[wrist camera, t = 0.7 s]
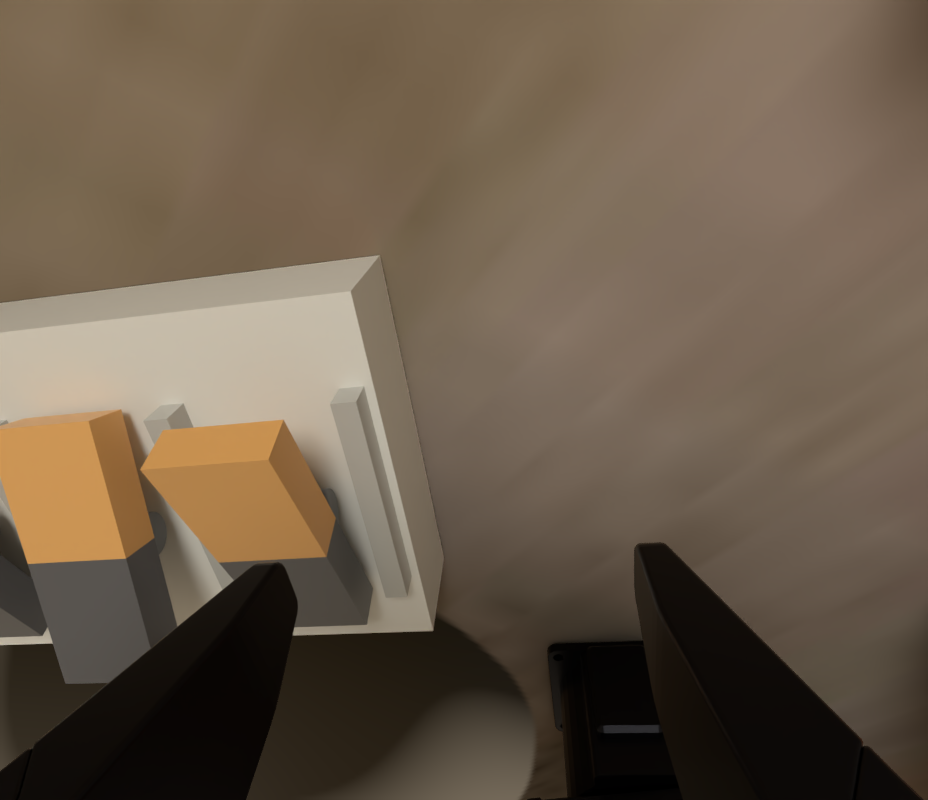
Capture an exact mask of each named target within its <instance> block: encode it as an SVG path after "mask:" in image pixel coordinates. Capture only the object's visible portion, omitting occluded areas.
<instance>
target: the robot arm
mask: <svg viewBox="0 0 928 800" xmlns="http://www.w3.org/2000/svg"><path fill="white" fill-rule="evenodd" d="M634 587H635V597H636V604H637V609H638V615H639V620H640V626H641V632H642V637H643V641H636V642H601V643H566V644H553V645H551V646H550V647H549V648H548V661H549V670H550V679H551V688H552V698H553V707H554V716H555V725H556V728H557V729H558V730H560V731H563V742H564V755H565V769H566V782H567V796H568V797H567V798H556V799H546V800H923V799H922V798H921V797H920V796H919V795H918V794H917V793H916V792H915V791H914V790H913V789H912V788H911V787H910V786H909V785H908V784H907V783H906V782H905V781H903V780H902V779H901V778H900V777H899V776H898V775H897V774H896V773H895V772H894V771H893V770H892V769H891V768H890V767H889V766H888V765H887V764H886V763H885V762H884V761H883V760H882V759H881V758H880V757H879V756H878V755H877V754H876V753H875V752H874V751H873V750H872V749H871V748H870V747H869V746H864V747H863V741H862V739H861V738H860V737H859V736H858V735H857V734H856V733H855V732H854V731H853V730H852V729H851V728H850V727H849V726H848V725H847V724H846V723H845V722H844V721H843V720H842V719H841V718H840V717H839V716H838V715H837V714H836V713H835V712H834V711H833V710H832V709H831V708H830V707H829V706H828V705H827V704H826V703H825V702H824V701H823V700H822V699H821V698H820V697H819V696H818V695H817V694H816V693H815V692H814V691H813V690H812V689H811V688H810V687H809V686H808V685H807V684H806V683H805V682H804V681H803V680H802V679H801V678H800V677H799V676H798V675H797V674H796V673H795V672H794V671H793V670H792V669H791V668H790V667H789V666H788V665H787V664H786V663H785V662H784V661H783V660H782V659H781V658H780V657H779V656H778V655H777V654H776V653H775V652H774V651H773V650H772V649H771V648H770V647H769V646H768V645H767V644H766V643H765V642H764V641H763V640H762V639H761V638H760V637H759V636H758V635H757V634H756V633H755V632H754V631H753V630H752V629H751V628H750V627H749V626H748V625H747V624H746V623H745V622H744V621H743V620H742V619H741V618H740V617H739V616H738V615H737V614H736V613H735V612H734V611H733V610H732V609H731V608H730V607H729V606H728V605H727V604H726V603H725V602H724V601H723V600H722V599H721V598H720V597H719V596H718V595H717V594H716V593H715V592H714V591H713V590H712V589H711V588H710V587H709V586H708V585H706V584H705V583H704V582H703V581H702V580H701V579H700V578H699V577H698V576H697V575H696V574H695V573H694V572H693V571H692V570H691V569H690V568H689V567H688V566H687V565H686V564H685V563H684V562H683V561H682V560H681V559H680V558H679V557H678V556H677V555H676V554H675V553H674V552H673V551H672V550H671V549H670V548H669V547H668V546H667V545H666V544H664V543H661V542H657V543H639V544H637V545H636V546H635V550H634ZM297 613H298V601H297V597H296V594H295V591H294V589H293V586H292V583H291V581H290V578H289V576H288V573H287V570H286V568H285V566H284V565H283V564H282V563H281V562H259V563H256V564H254V565H252V566H251V567H250V568H248V569H247V570H246V571H245V572H243V573H242V574H241V575H240V576H239V577H237V578H236V579H235V580H234V581H232V582H231V583H230V584H229V585H228V586H226V587H225V588H224V589H223V590H221V591H220V592H219V593H218V594H217V595H215V596H214V597H213V598H212V599H210V600H209V601H208V602H207V603H206V604H204V605H203V606H202V607H201V608H199V609H198V610H197V611H196V612H195V613H193V614H192V615H191V616H190V617H188V618H187V619H186V620H185V621H184V622H182V623H181V624H180V625H179V626H177V627H176V628H175V629H174V630H173V631H171V632H170V633H169V634H168V635H166V636H165V637H164V638H163V639H161V640H160V641H159V642H158V643H157V644H155V645H154V646H153V647H152V648H150V649H149V650H148V651H147V652H146V653H144V654H143V655H142V656H141V657H139V658H138V659H137V660H136V661H135V662H133V663H132V664H131V665H130V666H128V667H127V668H126V669H125V670H124V671H122V672H121V673H120V674H119V675H117V676H116V677H115V678H114V679H113V680H111V681H110V682H109V683H108V684H106V685H105V686H104V687H103V688H102V689H100V690H99V691H98V692H97V693H95V694H94V695H93V696H92V697H90V698H89V699H88V700H87V701H86V702H84V703H83V704H82V705H81V706H79V707H78V708H77V709H76V710H75V711H74V712H72V713H71V714H70V715H68V716H67V717H66V718H65V719H63V720H62V721H61V722H60V723H59V724H58V725H56V726H55V727H54V728H53V729H52V730H50V731H49V732H48V733H46V734H45V735H44V736H43V737H41V738H40V739H39V740H38V741H37V742H36V743H35V744H34V746H33V748H28V749H27V750H25V751H24V752H23V753H22V754H20V755H19V756H18V757H17V758H16V759H14V760H13V761H12V762H11V763H9V764H8V765H7V766H6V767H5V768H3V769H2V770H1V771H0V800H246V798H247V795H248V792H249V789H250V786H251V782H252V779H253V777H254V773H255V771H256V768H257V765H258V762H259V759H260V756H261V753H262V750H263V747H264V744H265V741H266V738H267V735H268V732H269V729H270V726H271V722H272V719H273V716H274V713H275V710H276V705H277V702H278V698H279V694H280V689H281V685H282V680H283V676H284V672H285V667H286V663H287V658H288V654H289V649H290V645H291V640H292V636H293V631H294V627H295V622H296V618H297ZM862 747H863V748H862ZM527 800H541V799H540V798H530V799H527Z"/></svg>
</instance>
